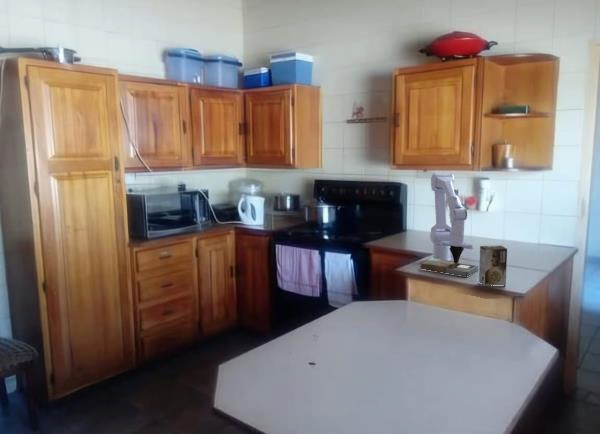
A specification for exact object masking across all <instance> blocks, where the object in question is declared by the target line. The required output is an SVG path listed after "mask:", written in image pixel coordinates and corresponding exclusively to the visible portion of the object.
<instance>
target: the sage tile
mask: <svg viewBox="0 0 600 434" xmlns="http://www.w3.org/2000/svg"><path fill="white" fill-rule="evenodd" d="M426 261H427V264H430V265H439V264H440V262H441V259H434V258H433V257H431V258H428V259H427V260H426Z"/></svg>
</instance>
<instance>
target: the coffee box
mask: <svg viewBox="0 0 600 434" xmlns="http://www.w3.org/2000/svg"><path fill="white" fill-rule="evenodd" d="M507 264H508V248H506V247H505V246H503V245H480V246H479V266H478V283H479V282H480V283H482V284H483V285H484V286H491V285H492V286H493V285H506V286H507ZM480 283H479V284H480ZM483 285H482V286H483ZM484 286H483V287H484Z"/></svg>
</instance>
